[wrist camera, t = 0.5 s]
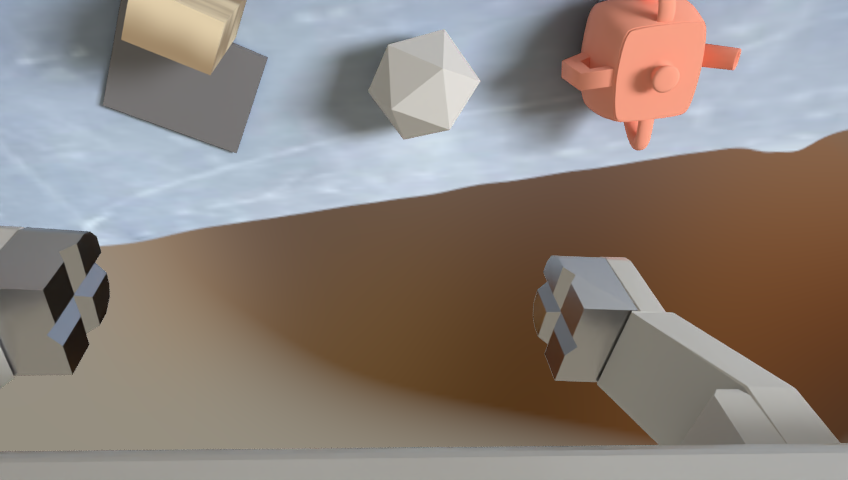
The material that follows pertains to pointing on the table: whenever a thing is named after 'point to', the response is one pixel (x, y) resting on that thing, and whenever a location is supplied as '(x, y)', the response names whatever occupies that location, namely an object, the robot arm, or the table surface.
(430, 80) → the die
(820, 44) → the table surface
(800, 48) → the table surface
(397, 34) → the table surface
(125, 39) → the maple block
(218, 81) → the rubber mat
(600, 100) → the teapot
